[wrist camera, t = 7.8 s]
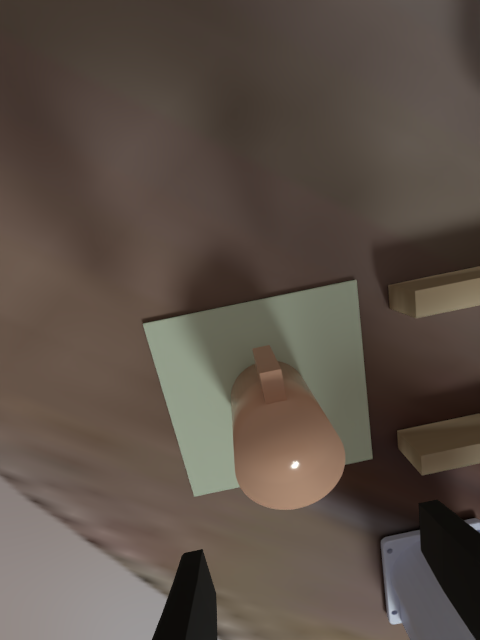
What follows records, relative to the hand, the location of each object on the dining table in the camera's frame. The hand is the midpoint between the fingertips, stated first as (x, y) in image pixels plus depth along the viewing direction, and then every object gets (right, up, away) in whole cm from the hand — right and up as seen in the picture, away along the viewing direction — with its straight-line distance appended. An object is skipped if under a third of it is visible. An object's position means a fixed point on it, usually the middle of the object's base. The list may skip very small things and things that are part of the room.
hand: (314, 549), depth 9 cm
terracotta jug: (-1, +3, +9) cm, 10 cm away
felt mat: (-1, +2, +9) cm, 10 cm away
